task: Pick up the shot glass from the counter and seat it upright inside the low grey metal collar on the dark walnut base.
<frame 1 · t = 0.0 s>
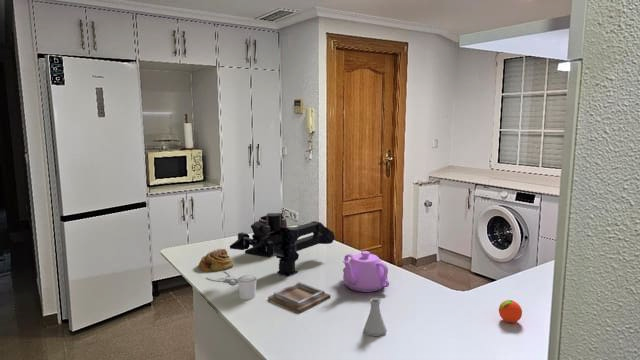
hand: (237, 249, 162), 17 cm above the counter, tool horizontal, fingers open, 9 cm apart
shot glass: (247, 297, 160), on the counter
clementine: (508, 322, 139), on the counter
flask: (374, 331, 134), on the counter
pliers: (226, 280, 177), on the counter
pastry: (216, 267, 192), on the counter
teapot: (361, 288, 167), on the counter
walnut seat: (299, 298, 157), on the counter
mate gourd: (272, 252, 210), on the counter
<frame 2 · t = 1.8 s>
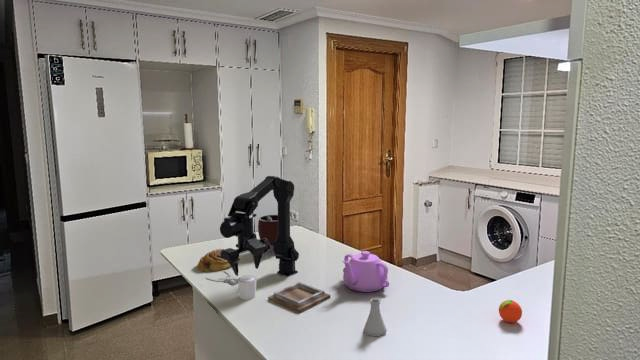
hand: (247, 271, 158), 9 cm above the counter, tool pointing down, fingers open, 9 cm apart
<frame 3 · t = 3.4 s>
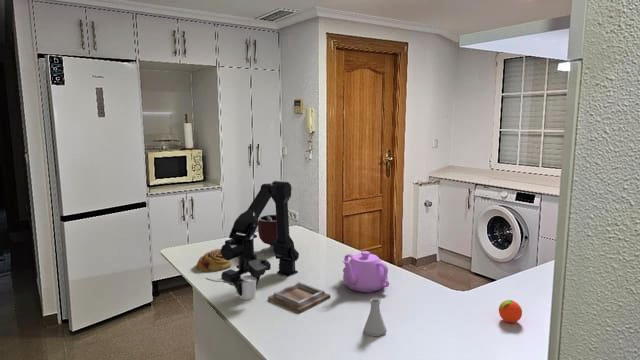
hand: (247, 292, 160), 2 cm above the counter, tool pointing down, fingers closed on shot glass, 6 cm apart
shot glass: (247, 296, 160), on the counter, touching gripper
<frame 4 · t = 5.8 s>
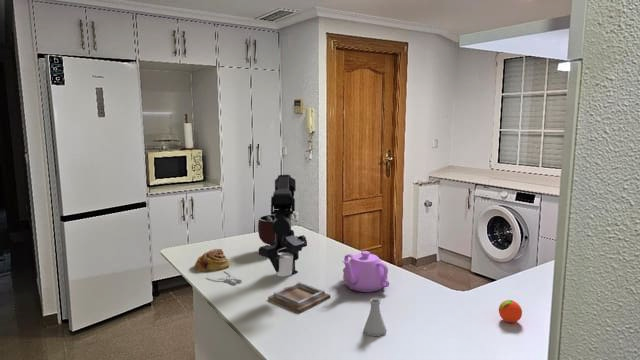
hand: (284, 269, 156), 11 cm above the counter, tool pointing down, fingers closed on shot glass, 6 cm apart
shot glass: (284, 273, 156), point 9 cm above the counter, touching gripper
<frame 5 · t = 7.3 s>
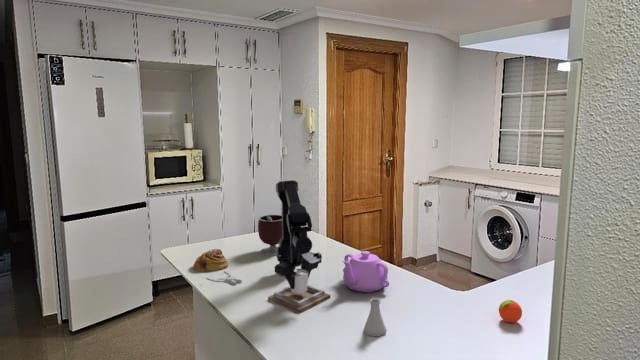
hand: (299, 286, 157), 5 cm above the counter, tool pointing down, fingers closed on shot glass, 6 cm apart
shot glass: (299, 290, 157), point 3 cm above the counter, touching gripper
when the fingers open (4 cm above the counter, at t = 8.4 s): shot glass drops 1 cm, resting on walnut seat.
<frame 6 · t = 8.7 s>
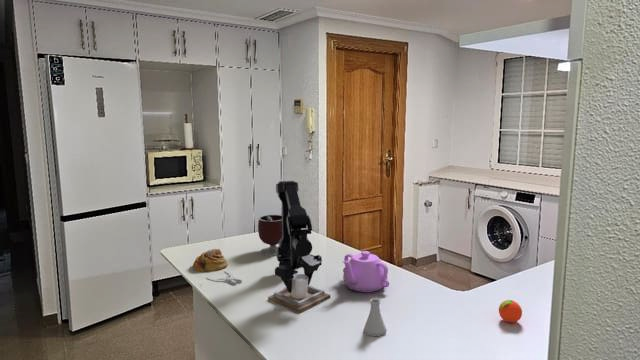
hand: (299, 288, 157), 4 cm above the counter, tool pointing down, fingers open, 9 cm apart
shot glass: (299, 296, 157), point 1 cm above the counter, touching walnut seat
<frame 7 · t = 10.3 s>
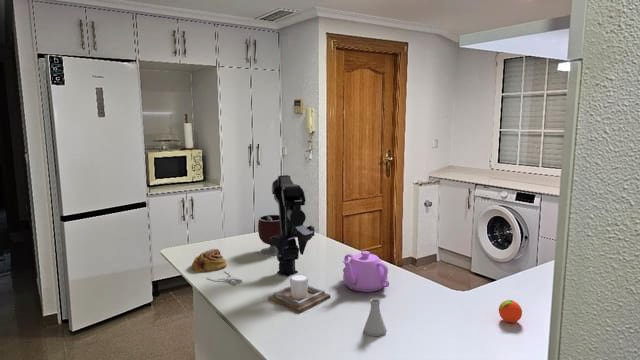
hand: (293, 257, 167), 12 cm above the counter, tool pointing down, fingers open, 9 cm apart
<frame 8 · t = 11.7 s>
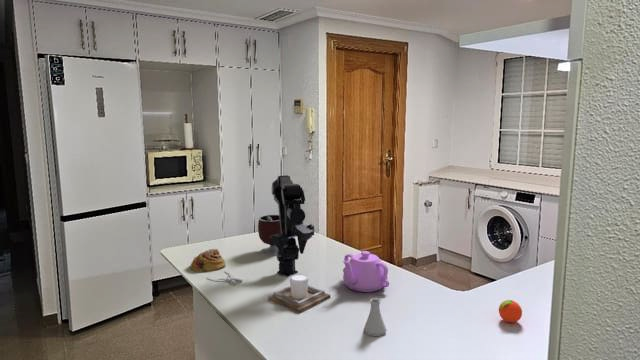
hand: (293, 256, 167), 12 cm above the counter, tool pointing down, fingers open, 9 cm apart
at the end: shot glass 0.0 cm off-centre on the walnut seat, point 1.0 cm above the walnut seat's base; shot glass tilted 0°; the gripper is holding nothing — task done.
